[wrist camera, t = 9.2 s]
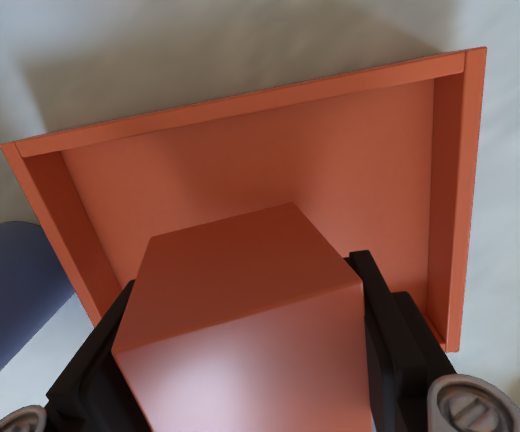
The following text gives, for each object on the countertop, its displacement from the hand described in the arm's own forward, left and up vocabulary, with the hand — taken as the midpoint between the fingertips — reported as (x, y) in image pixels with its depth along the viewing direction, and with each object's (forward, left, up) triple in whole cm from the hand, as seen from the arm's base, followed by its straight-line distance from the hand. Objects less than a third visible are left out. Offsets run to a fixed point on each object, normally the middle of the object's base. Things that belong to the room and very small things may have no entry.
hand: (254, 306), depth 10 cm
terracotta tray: (0, 0, -5) cm, 5 cm away
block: (-1, 0, -2) cm, 2 cm away
